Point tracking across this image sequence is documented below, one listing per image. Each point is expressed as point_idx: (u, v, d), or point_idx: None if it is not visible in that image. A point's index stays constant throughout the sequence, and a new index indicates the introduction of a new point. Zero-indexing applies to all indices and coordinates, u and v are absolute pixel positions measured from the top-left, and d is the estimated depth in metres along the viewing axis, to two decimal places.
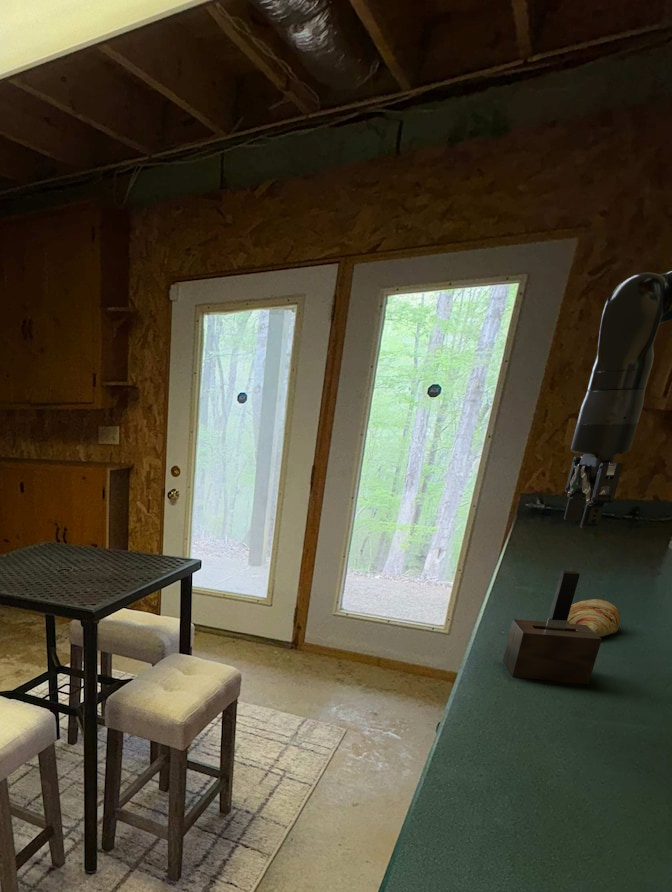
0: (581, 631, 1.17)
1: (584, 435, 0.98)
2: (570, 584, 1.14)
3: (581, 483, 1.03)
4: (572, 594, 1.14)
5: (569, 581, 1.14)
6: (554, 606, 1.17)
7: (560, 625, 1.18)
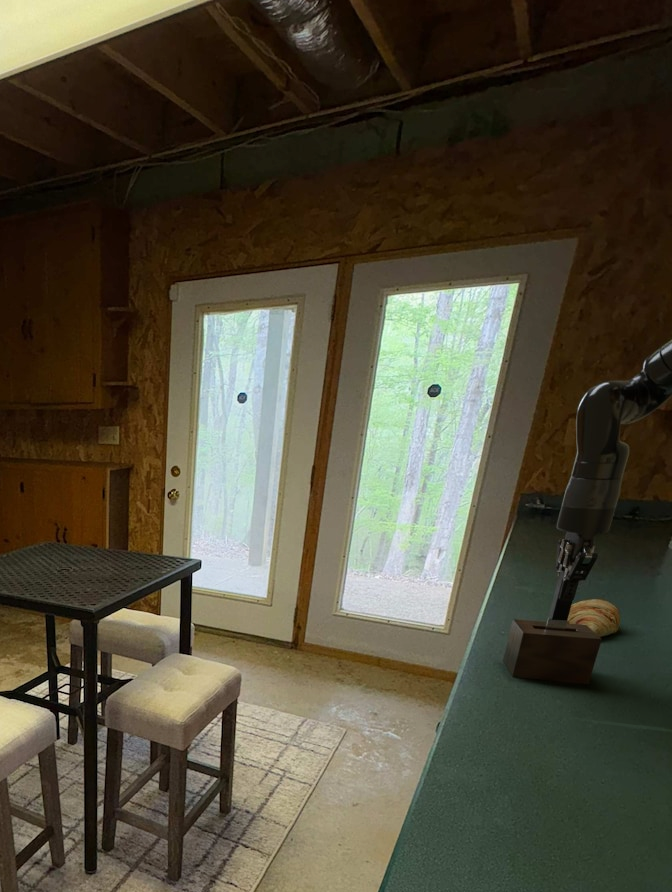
0: (581, 631, 1.17)
1: (568, 516, 1.10)
2: None
3: None
4: None
5: None
6: (554, 606, 1.17)
7: (560, 625, 1.18)
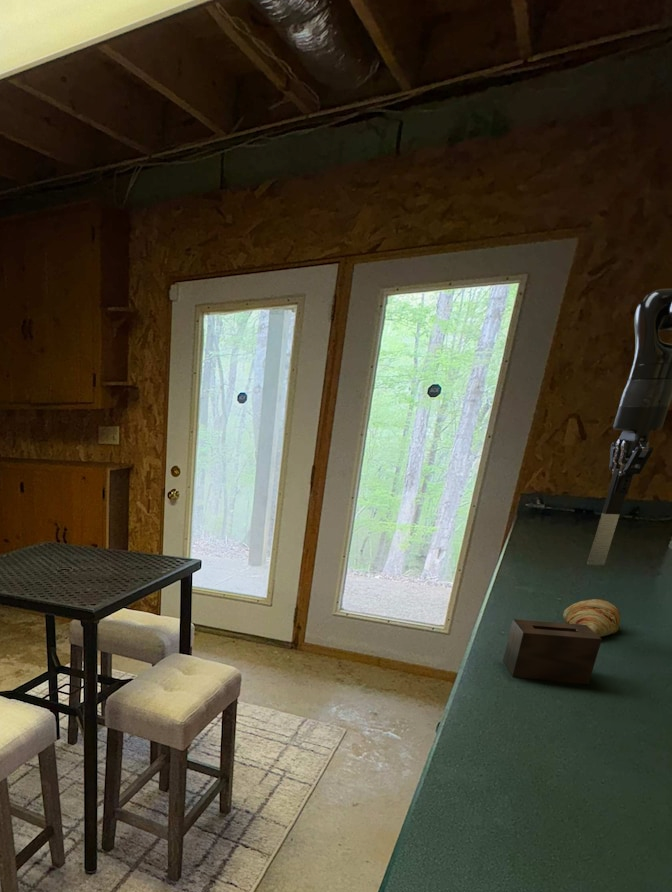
0: (581, 631, 1.17)
1: (626, 415, 1.22)
2: None
3: (620, 455, 1.27)
4: None
5: None
6: (608, 501, 1.30)
7: (613, 519, 1.31)
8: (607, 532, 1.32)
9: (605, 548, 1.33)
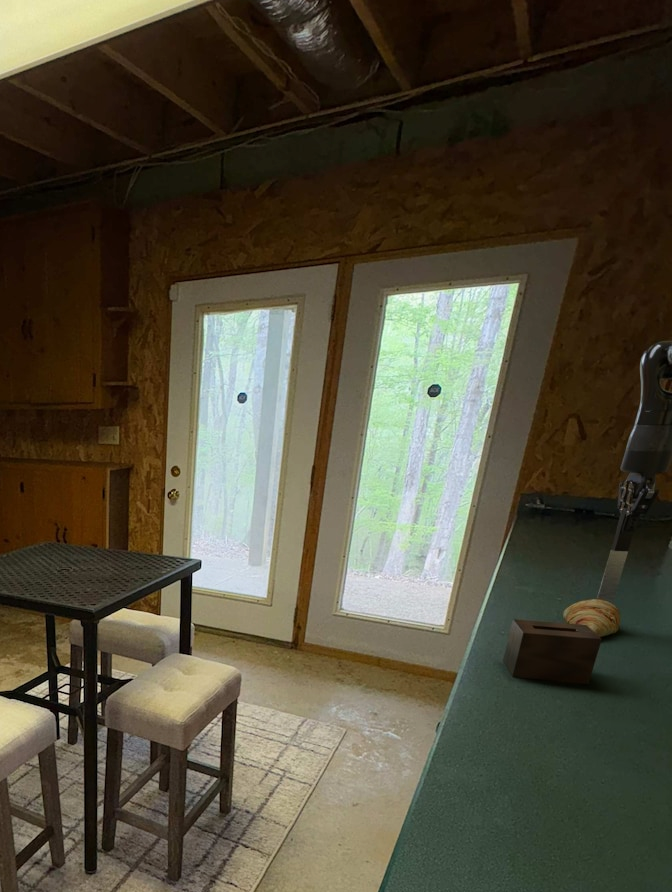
0: (581, 631, 1.17)
1: (632, 459, 1.28)
2: None
3: None
4: None
5: None
6: (617, 539, 1.35)
7: (621, 556, 1.36)
8: (616, 568, 1.37)
9: (614, 583, 1.38)
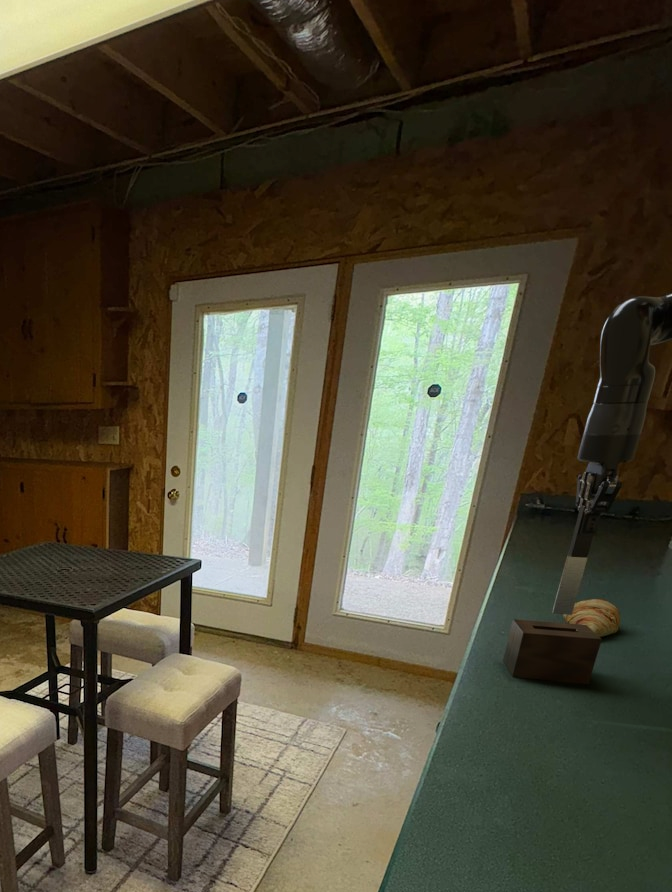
0: (581, 631, 1.17)
1: (591, 445, 1.05)
2: None
3: None
4: None
5: None
6: (574, 542, 1.12)
7: (580, 563, 1.13)
8: (574, 577, 1.14)
9: (572, 595, 1.15)
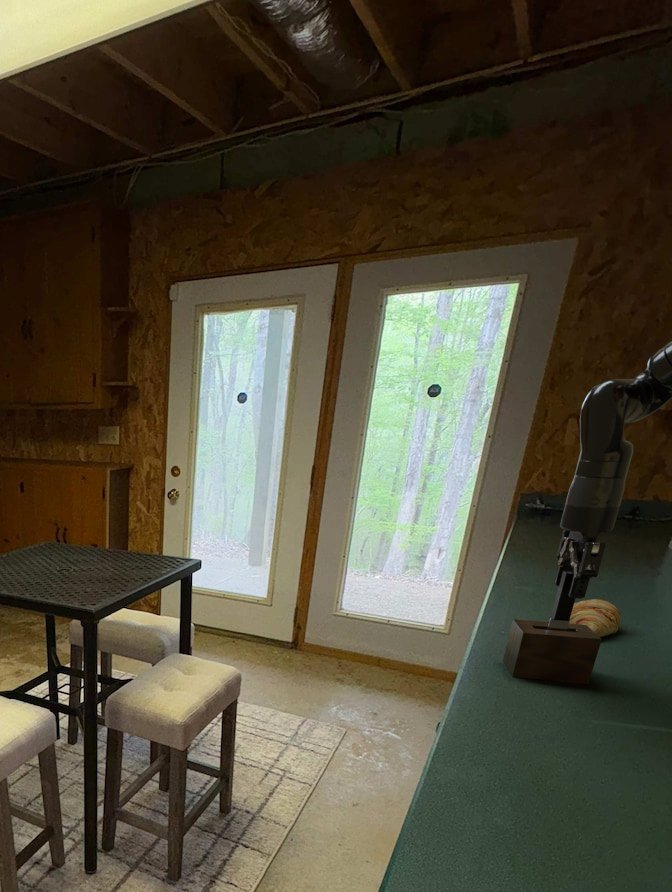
0: (581, 631, 1.17)
1: (572, 515, 1.09)
2: None
3: (569, 555, 1.14)
4: None
5: (571, 581, 1.14)
6: (556, 606, 1.16)
7: (562, 625, 1.17)
8: None
9: None
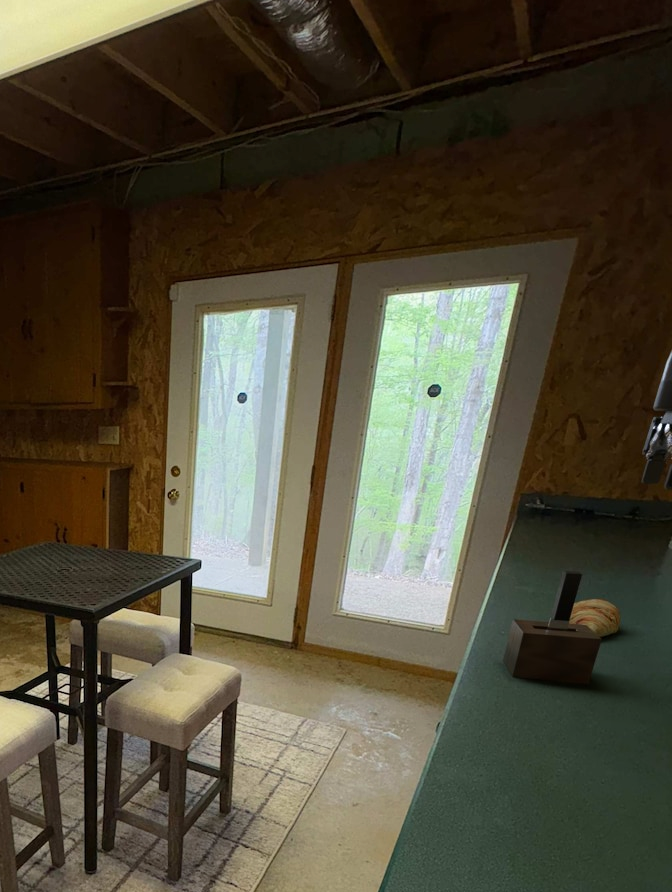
0: (581, 631, 1.17)
1: (671, 391, 0.95)
2: (572, 584, 1.14)
3: (663, 443, 0.99)
4: (574, 594, 1.14)
5: (571, 581, 1.14)
6: (556, 606, 1.16)
7: (562, 625, 1.17)
8: None
9: None
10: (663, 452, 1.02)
